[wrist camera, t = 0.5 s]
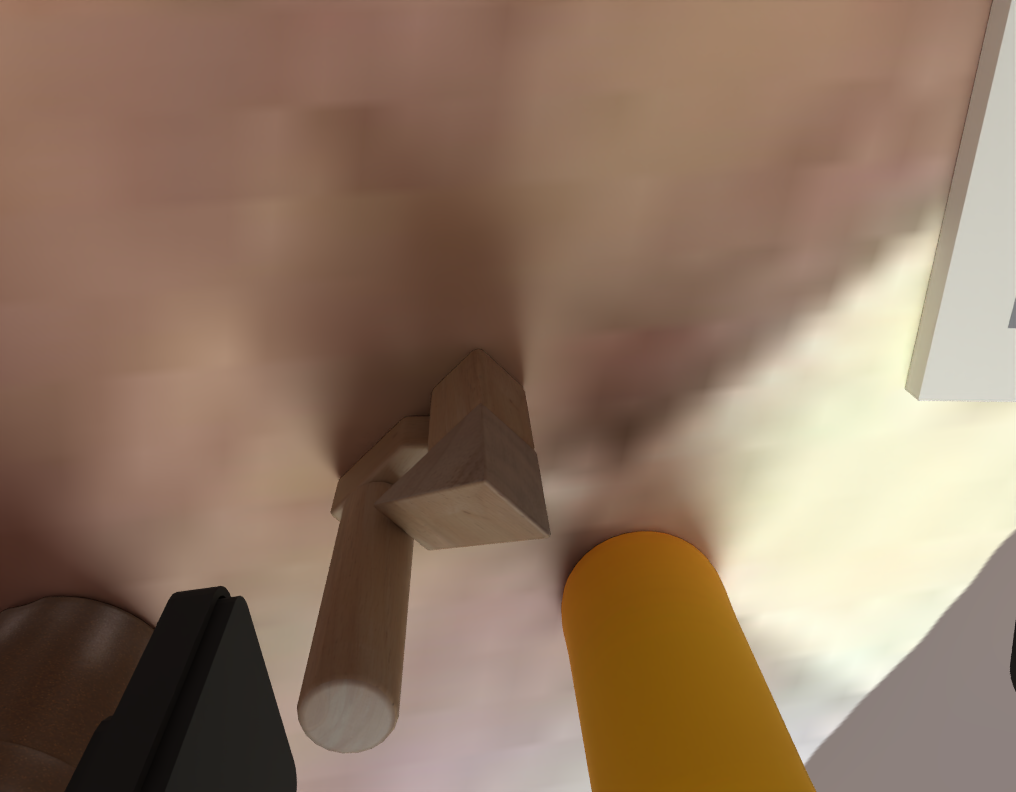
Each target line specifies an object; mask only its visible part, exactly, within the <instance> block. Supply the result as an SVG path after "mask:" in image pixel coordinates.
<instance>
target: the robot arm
mask: <svg viewBox="0 0 1016 792" xmlns="http://www.w3.org/2000/svg"><path fill="white" fill-rule="evenodd" d="M1010 674H1011V680H1012V683H1013V686H1014V689H1015V691H1016V622H1015V630H1014V638H1013V646H1012V654H1011V662H1010ZM296 790H297V777H296V768H295V764H294V760H293V756H292V753H291V750H290V746H289V743H288V740H287V736H286V733H285V729H284V726H283V723H282V719H281V716H280V713H279V709H278V706H277V703H276V699H275V696H274V693H273V689H272V686H271V682H270V679H269V676H268V672H267V669H266V666H265V662H264V659H263V656H262V652H261V649H260V646H259V642H258V639H257V635H256V632H255V629H254V625H253V622H252V619H251V615H250V612H249V609H248V606H247V603H246V601H245V599H244V598H243V597H242V596H236V597H231V596H230V593H229V592H228V590H227V589H226V588H225V587H223V586H218V587H211V588H203V589H196V590H189V591H181V592H176V593H174V594H172V596H171V597H170V599H169V600H168V603H167V605H166V607H165V609H164V611H163V613H162V615H161V617H160V619H159V621H158V623H157V625H156V627H155V629H154V631H153V634H152V636H151V638H150V640H149V642H148V644H147V646H146V648H145V650H144V652H143V654H142V656H141V658H140V660H139V662H138V665H137V667H136V669H135V671H134V673H133V675H132V677H131V679H130V681H129V683H128V685H127V687H126V689H125V691H124V693H123V696H122V698H121V700H120V702H119V704H118V706H117V708H116V710H115V712H114V714H113V715H112V716H109V717H107V718H106V719H104V720H102V721H101V723H100V724H99V726H98V727H97V729H96V730H95V731H94V733H93V735H92V737H91V739H90V741H89V743H88V745H87V747H86V749H85V751H84V753H83V755H82V757H81V759H80V761H79V763H78V765H77V767H76V769H75V771H74V773H73V775H72V777H71V779H70V781H69V783H68V785H67V787H66V789H65V791H64V792H296Z"/></svg>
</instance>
